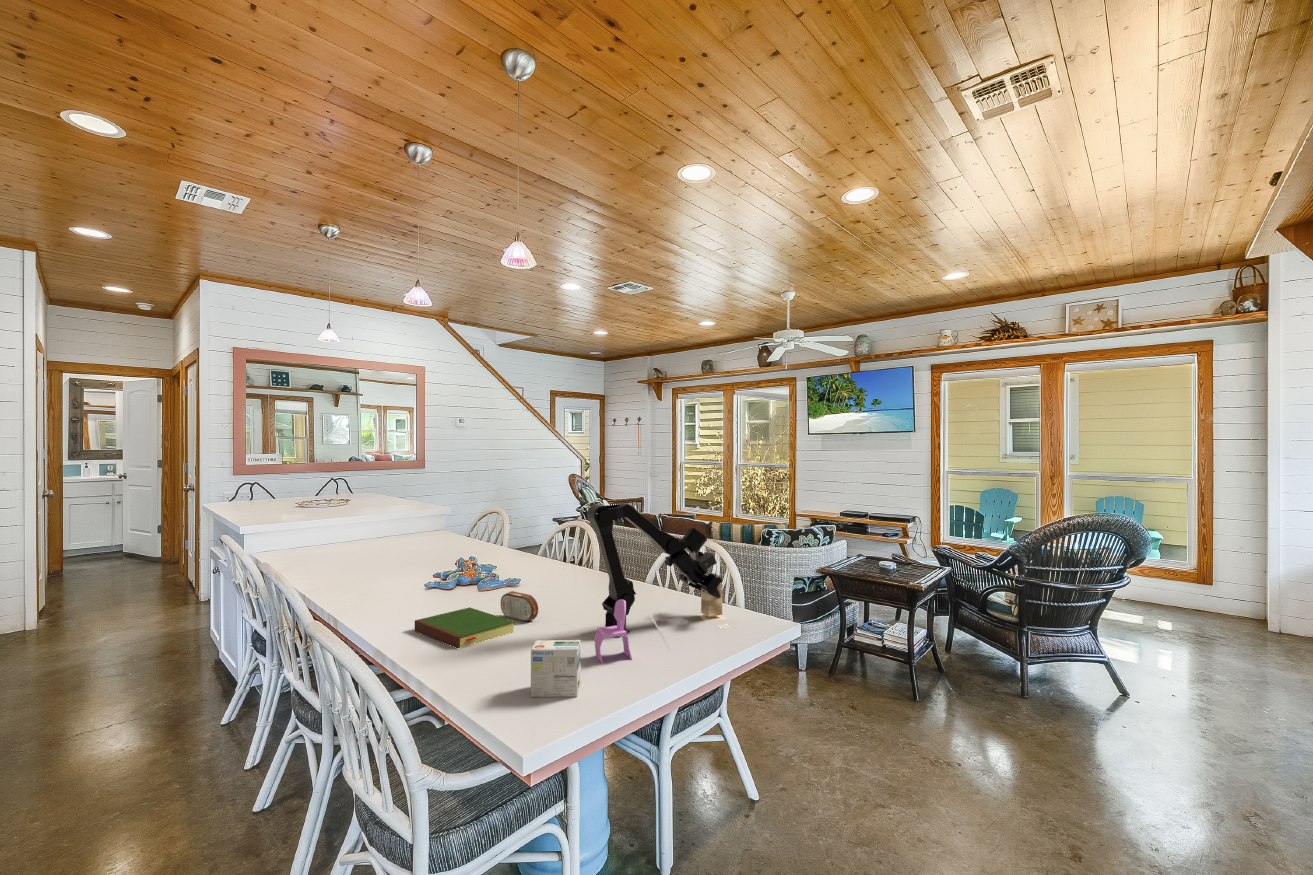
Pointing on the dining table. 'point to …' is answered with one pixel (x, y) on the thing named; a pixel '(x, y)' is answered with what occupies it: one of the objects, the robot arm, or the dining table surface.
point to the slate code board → (712, 618)
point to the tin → (519, 606)
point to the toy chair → (614, 630)
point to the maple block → (711, 603)
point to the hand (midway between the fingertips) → (715, 595)
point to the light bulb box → (555, 668)
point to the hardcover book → (463, 627)
